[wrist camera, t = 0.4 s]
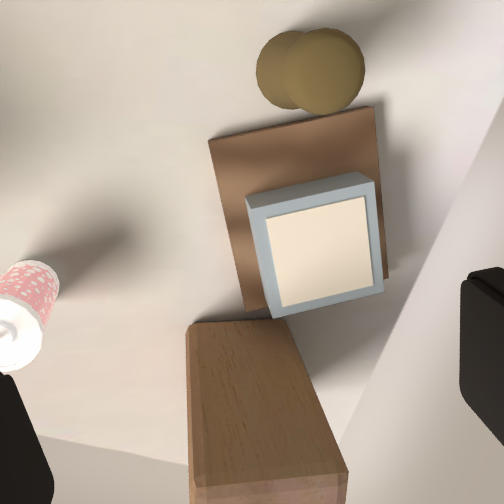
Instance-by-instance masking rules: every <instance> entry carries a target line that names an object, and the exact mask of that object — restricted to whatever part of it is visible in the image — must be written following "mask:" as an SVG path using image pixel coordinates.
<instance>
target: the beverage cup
mask: <svg viewBox="0 0 504 504" xmlns="http://www.w3.org/2000/svg"><path fill="white" fill-rule="evenodd" d="M59 284H60V283H59V280H58V277H57V274H56V273H55V272H54V271H53V270H52V269H51V267H50V266H48V265H46V264H44V263H42V262H40V261H34V260H25V261H20V262H18V263H16V264H15V265H13V266H12V267H10V268H9V269H8V270H7V271H6V272H5V273H4V274H3V275H2V276H1V277H0V372H6V371H11V370H16V369H20V368H22V367H23V366H25V365H26V364H28V363H30V362H31V361H33V359H34V358H35V356H36V355H37V353H38V352H39V350H40V349H41V347H42V344H43V339H44V330H45V327H46V324H47V321H48V319H49V316H50V313H51V311H52V308H53V305H54V303H55V300H56V298H57V295H58V292H59Z"/></svg>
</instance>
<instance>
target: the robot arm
mask: <svg viewBox="0 0 504 504" xmlns="http://www.w3.org/2000/svg"><path fill="white" fill-rule="evenodd" d="M460 296H461V297H460V374H459V375H460V377H459V385H460V391H461V394H462V396H463V398H464V400H465V401H466V403H467V404H468V405H469V406H470V407H471V409H472V410H473V411H474V412H475V413H476V414H477V416H478V417H479V418H480V419H481V420H482V421H483V422H484V424H485V425H486V426H487V427H488V428H489V430H490V431H491V432H492V433H493V434H494V435H495V437H496V438H497V439H498V440H499V441H500V442H501V443H502V445H503V446H504V269H503V268H500V267H494V268H489V269H484V270H479V271H474V272H471V273H470V274H469V275H468V277H467V280H464V281H463V282H462V284H461V295H460ZM53 494H54V479H53V475H52V472H51V470H50V467H49V465H48V462H47V460H46V458H45V455H44V453H43V450H42V448H41V445H40V443H39V441H38V438H37V436H36V433H35V431H34V428H33V426H32V423H31V421H30V419H29V416H28V414H27V411H26V409H25V406H24V404H23V402H22V399H21V397H20V394H19V392H18V389H17V387H16V384H15V382H14V380H13V378H12V377H11V376H10V375H8V374H7V375H3V374H2V373H1V372H0V504H51V501H52V498H53Z"/></svg>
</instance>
